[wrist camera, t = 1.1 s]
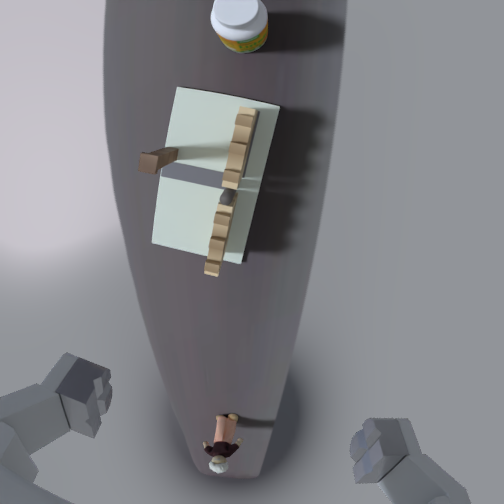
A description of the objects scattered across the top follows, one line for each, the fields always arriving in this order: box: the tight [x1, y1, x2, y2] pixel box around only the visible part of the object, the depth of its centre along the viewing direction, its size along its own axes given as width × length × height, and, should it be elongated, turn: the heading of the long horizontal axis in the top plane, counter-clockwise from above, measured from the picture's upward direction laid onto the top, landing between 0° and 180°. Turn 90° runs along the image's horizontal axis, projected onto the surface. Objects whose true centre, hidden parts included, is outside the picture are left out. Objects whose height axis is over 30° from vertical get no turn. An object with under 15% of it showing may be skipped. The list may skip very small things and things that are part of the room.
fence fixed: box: [220, 106, 258, 205], centre depth 31 cm, size 10×2×7 cm, turn 167°
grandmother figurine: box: [203, 414, 243, 473], centre depth 50 cm, size 8×4×13 cm, turn 119°
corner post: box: [138, 147, 179, 174], centre depth 32 cm, size 2×2×8 cm
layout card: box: [152, 87, 280, 264], centre depth 37 cm, size 20×12×1 cm, turn 167°
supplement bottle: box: [211, 0, 268, 53], centre depth 25 cm, size 5×5×10 cm
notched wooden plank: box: [204, 192, 238, 277], centre depth 35 cm, size 8×2×7 cm, turn 167°
